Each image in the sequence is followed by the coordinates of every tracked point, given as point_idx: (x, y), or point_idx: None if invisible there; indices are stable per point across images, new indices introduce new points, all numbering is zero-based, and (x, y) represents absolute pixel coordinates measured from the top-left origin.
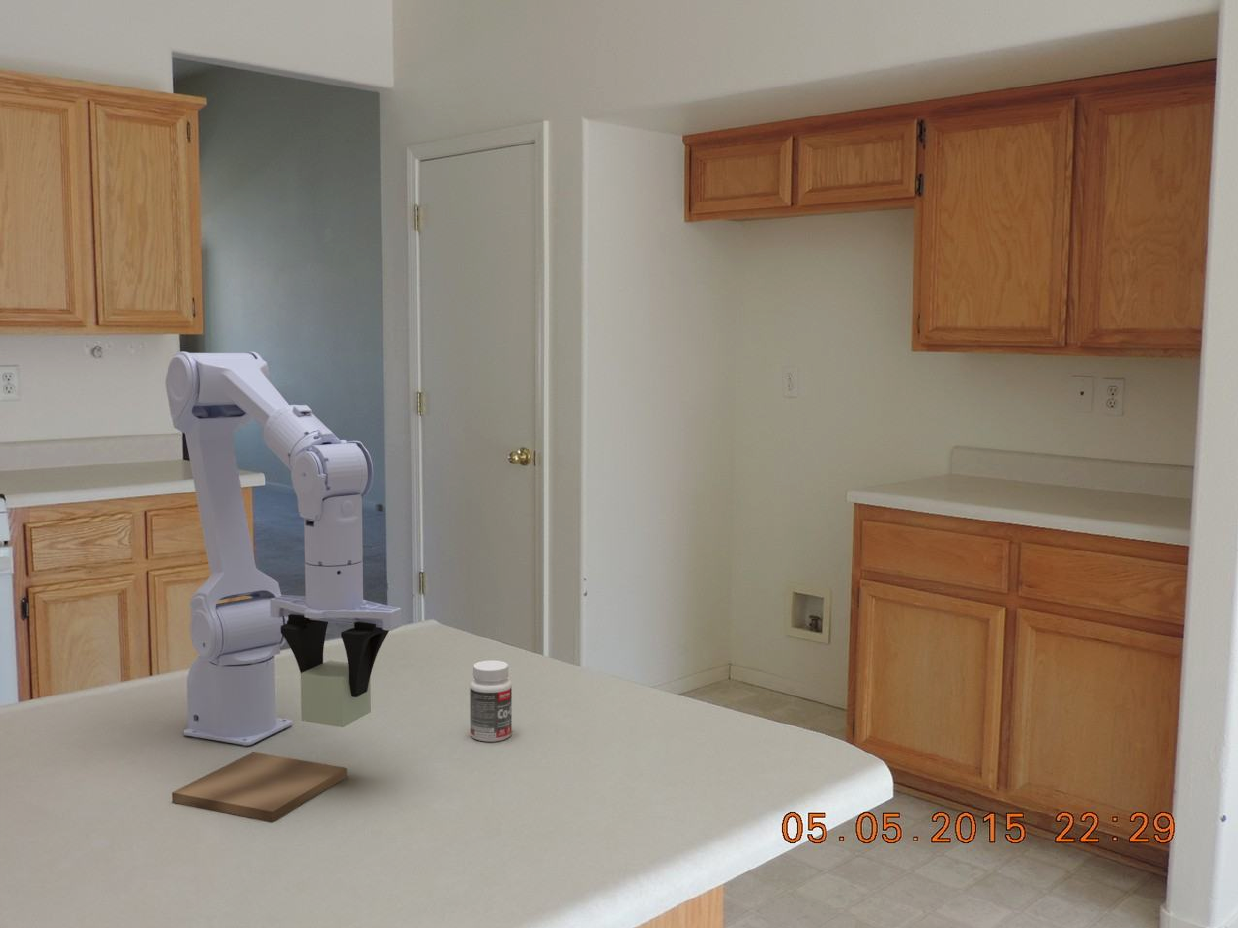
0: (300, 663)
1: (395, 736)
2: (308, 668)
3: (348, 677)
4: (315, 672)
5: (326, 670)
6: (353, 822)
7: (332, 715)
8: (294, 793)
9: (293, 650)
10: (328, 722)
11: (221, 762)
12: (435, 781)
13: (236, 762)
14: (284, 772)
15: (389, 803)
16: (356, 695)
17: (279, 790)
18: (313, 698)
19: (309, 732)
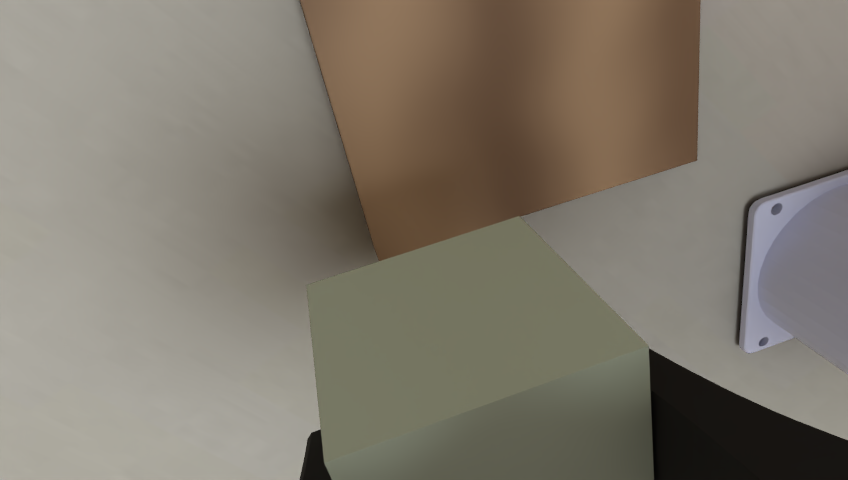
0: (720, 405)
1: None
2: (659, 415)
3: None
4: (579, 411)
5: (549, 468)
6: (24, 30)
7: (369, 291)
8: (337, 18)
9: (842, 448)
10: (383, 265)
11: (747, 88)
12: (148, 384)
13: (685, 74)
14: (505, 117)
15: (94, 210)
16: (308, 440)
17: (401, 3)
18: (497, 293)
19: (675, 349)
